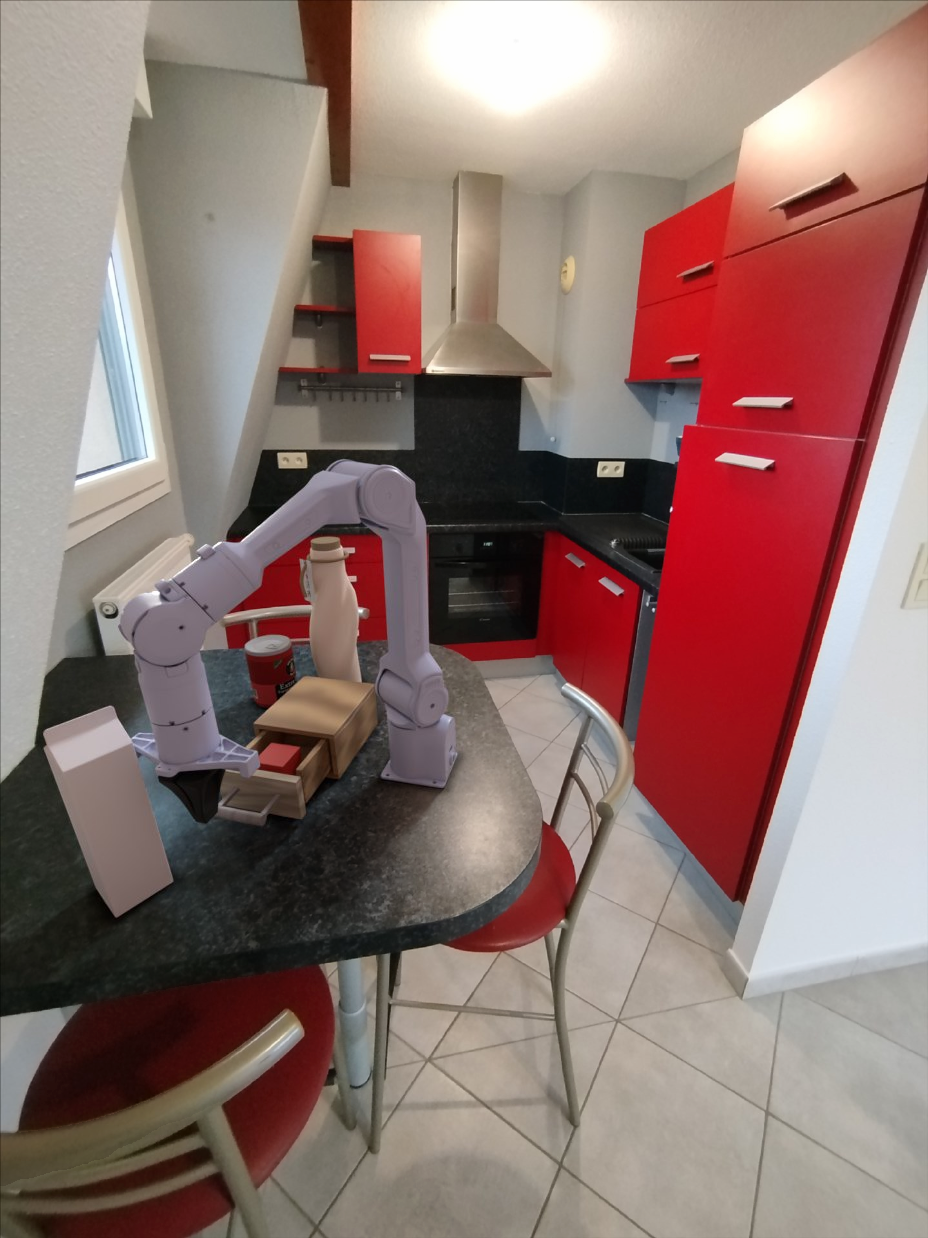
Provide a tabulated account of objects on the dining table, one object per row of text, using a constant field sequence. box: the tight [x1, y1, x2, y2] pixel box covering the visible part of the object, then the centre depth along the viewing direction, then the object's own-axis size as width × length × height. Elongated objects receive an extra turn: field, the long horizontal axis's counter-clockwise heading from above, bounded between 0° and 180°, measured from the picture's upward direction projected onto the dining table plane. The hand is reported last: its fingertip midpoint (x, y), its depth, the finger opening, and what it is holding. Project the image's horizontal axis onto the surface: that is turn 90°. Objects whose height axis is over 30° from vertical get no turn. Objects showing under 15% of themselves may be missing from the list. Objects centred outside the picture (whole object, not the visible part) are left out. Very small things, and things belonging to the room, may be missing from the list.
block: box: [257, 743, 302, 776], centre depth 72 cm, size 4×4×4 cm
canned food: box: [244, 634, 298, 709], centre depth 95 cm, size 8×8×11 cm
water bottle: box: [299, 536, 363, 683], centre depth 96 cm, size 10×9×28 cm
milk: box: [42, 705, 174, 919], centre depth 55 cm, size 6×6×22 cm
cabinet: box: [252, 675, 379, 780], centre depth 82 cm, size 15×13×8 cm
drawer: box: [213, 730, 333, 827], centre depth 71 cm, size 18×11×6 cm, turn 166°
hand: (207, 816), depth 58 cm, fingers closed
